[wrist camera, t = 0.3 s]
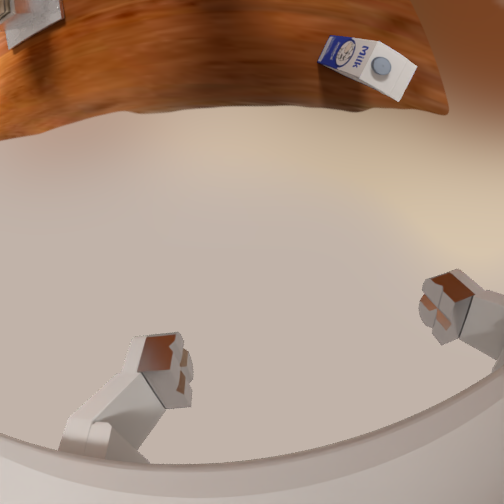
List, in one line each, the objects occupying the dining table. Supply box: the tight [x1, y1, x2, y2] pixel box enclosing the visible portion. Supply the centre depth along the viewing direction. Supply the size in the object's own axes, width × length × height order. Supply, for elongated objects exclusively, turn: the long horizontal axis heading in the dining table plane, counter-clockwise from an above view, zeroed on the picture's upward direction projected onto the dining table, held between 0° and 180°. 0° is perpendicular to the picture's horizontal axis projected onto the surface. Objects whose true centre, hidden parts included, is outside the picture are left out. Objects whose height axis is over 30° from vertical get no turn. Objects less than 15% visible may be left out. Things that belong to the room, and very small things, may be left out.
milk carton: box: [317, 35, 417, 102], centre depth 37 cm, size 7×7×20 cm
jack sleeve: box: [0, 0, 65, 50], centre depth 20 cm, size 14×14×12 cm
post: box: [0, 0, 11, 20], centre depth 17 cm, size 4×4×17 cm
